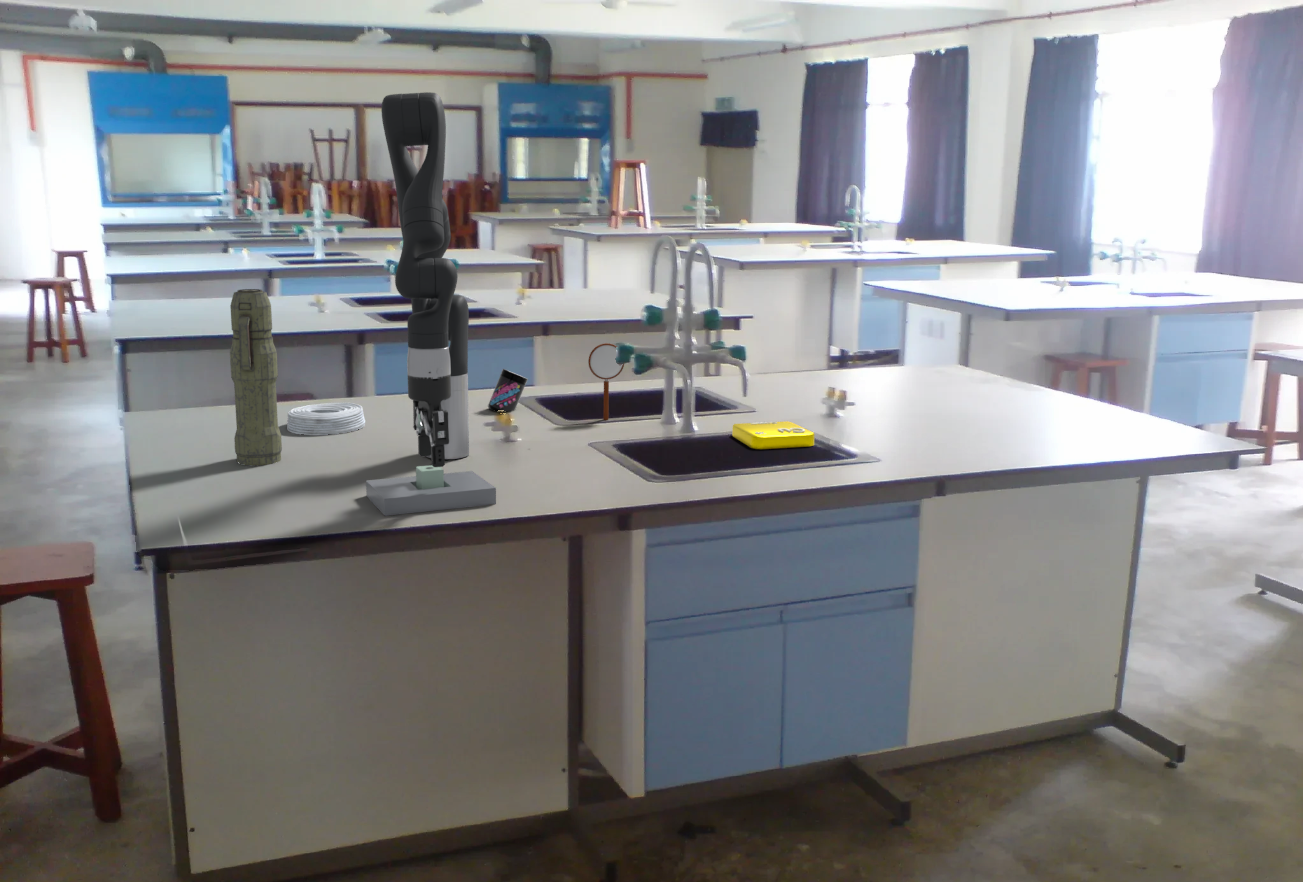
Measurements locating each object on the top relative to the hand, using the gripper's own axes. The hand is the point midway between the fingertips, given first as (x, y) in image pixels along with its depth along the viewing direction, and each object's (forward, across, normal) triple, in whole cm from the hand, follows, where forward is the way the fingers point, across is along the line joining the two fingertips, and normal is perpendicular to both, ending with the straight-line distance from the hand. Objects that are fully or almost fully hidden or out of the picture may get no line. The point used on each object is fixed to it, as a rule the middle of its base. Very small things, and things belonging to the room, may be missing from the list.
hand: (431, 461), depth 210 cm
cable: (+9, -67, -6) cm, 68 cm away
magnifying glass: (+9, -50, +57) cm, 76 cm away
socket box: (+7, 0, 0) cm, 7 cm away
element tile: (+9, -17, +83) cm, 85 cm away
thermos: (+8, -41, -24) cm, 48 cm away
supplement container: (+9, -70, +39) cm, 81 cm away
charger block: (+7, 0, 0) cm, 7 cm away
